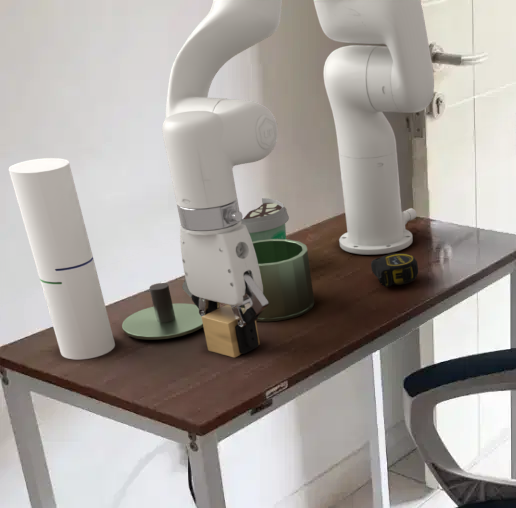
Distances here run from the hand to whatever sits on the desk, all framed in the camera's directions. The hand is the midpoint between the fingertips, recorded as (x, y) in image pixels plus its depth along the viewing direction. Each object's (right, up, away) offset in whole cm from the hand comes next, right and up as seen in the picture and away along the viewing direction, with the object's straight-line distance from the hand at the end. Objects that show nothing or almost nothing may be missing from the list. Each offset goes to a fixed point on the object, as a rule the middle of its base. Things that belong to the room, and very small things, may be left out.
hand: (233, 344), depth 138 cm
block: (0, 0, 0) cm, 0 cm away
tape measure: (+20, +12, +19) cm, 30 cm away
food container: (0, +16, +26) cm, 31 cm away
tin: (+3, +8, +12) cm, 15 cm away
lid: (-11, +4, +7) cm, 14 cm away
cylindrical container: (-21, -1, +1) cm, 21 cm away
